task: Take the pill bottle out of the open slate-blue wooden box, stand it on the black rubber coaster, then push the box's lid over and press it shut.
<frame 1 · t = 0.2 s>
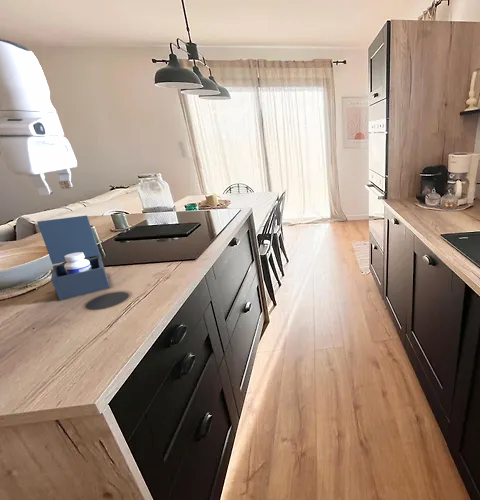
hand: (57, 191, 67), 29 cm above the counter, tool pointing down, fingers open, 8 cm apart
box: (85, 287, 84), on the counter
pill bottle: (85, 286, 84), point 1 cm above the counter, touching box
box lid: (70, 239, 84), point 13 cm above the counter, hinge at 105.0°
coaster: (108, 301, 77), on the counter
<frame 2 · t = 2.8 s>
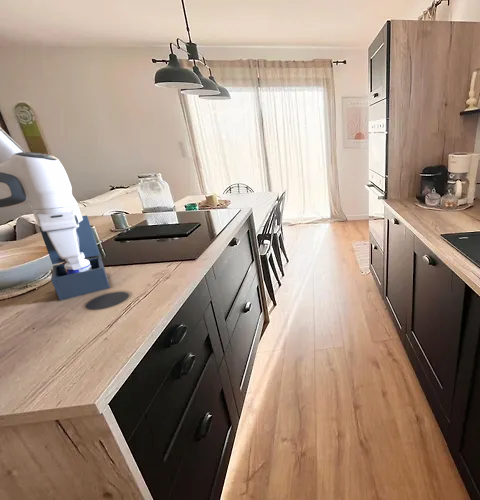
hand: (77, 263, 81), 8 cm above the counter, tool pointing down, fingers open, 7 cm apart
box lid: (70, 239, 84), point 13 cm above the counter, hinge at 106.1°
everything else where it was.
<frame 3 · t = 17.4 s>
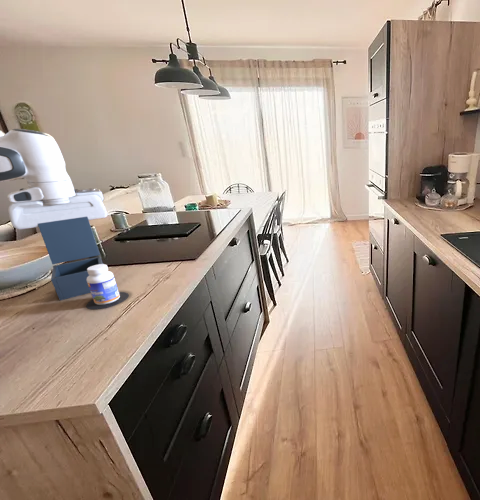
hand: (70, 237, 86), 13 cm above the counter, tool pointing down, fingers closed
pill bottle: (108, 300, 77), resting on coaster
box lid: (70, 239, 84), point 13 cm above the counter, hinge at 103.0°, touching gripper
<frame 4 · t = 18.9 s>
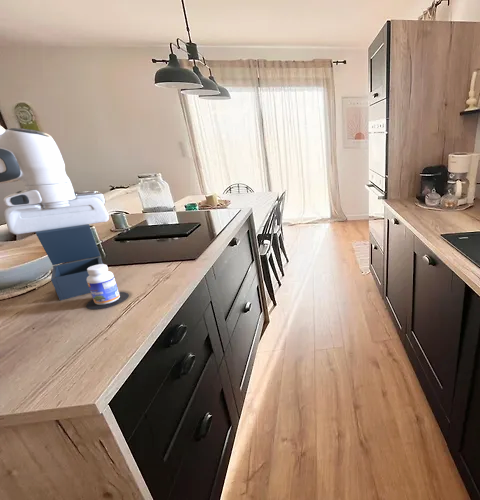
hand: (70, 242, 82), 13 cm above the counter, tool pointing down, fingers closed
box lid: (70, 244, 81), point 13 cm above the counter, hinge at 61.5°
everything else where it was.
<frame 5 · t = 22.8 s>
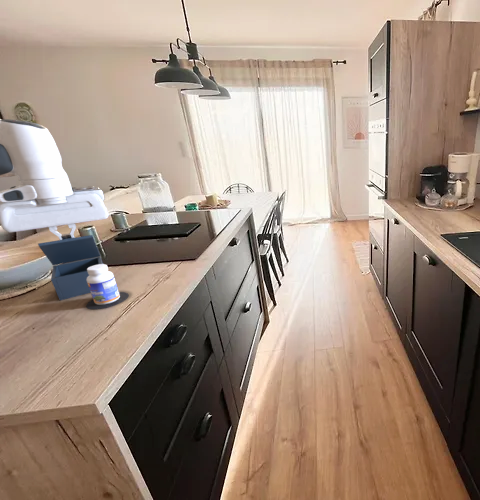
hand: (68, 240, 78), 15 cm above the counter, tool pointing down, fingers closed
box lid: (72, 250, 81), point 11 cm above the counter, hinge at 42.7°, touching gripper
everything else where it was.
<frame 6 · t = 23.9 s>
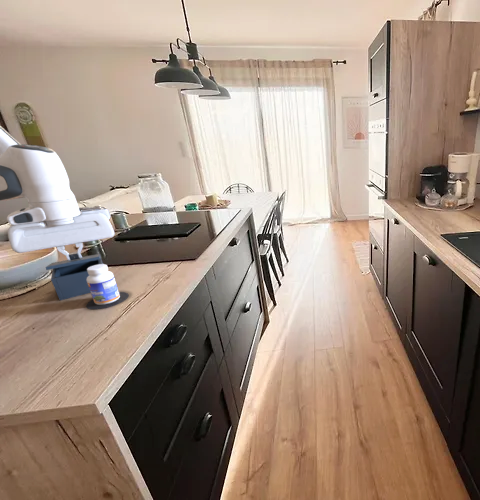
hand: (75, 259, 80), 9 cm above the counter, tool pointing down, fingers closed
box lid: (75, 261, 81), point 9 cm above the counter, hinge at 12.8°, touching gripper
everything else where it was.
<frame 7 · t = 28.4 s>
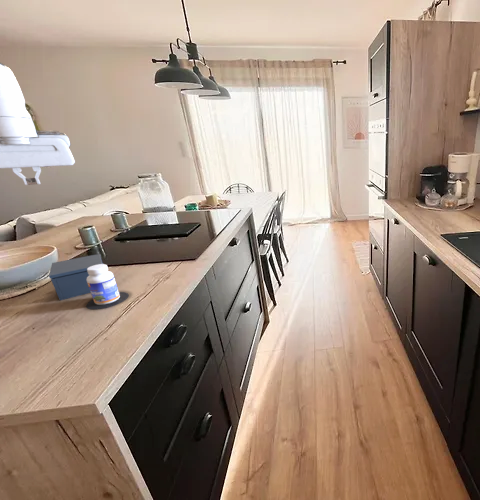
hand: (33, 184, 79), 29 cm above the counter, tool pointing down, fingers closed
box lid: (77, 265, 81), point 7 cm above the counter, hinge at 1.8°
everything else where it was.
at the end: pill bottle 0.1 cm from the coaster (horizontally); pill bottle tilted 0°; box lid at +2° (first picture: +105°) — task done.
